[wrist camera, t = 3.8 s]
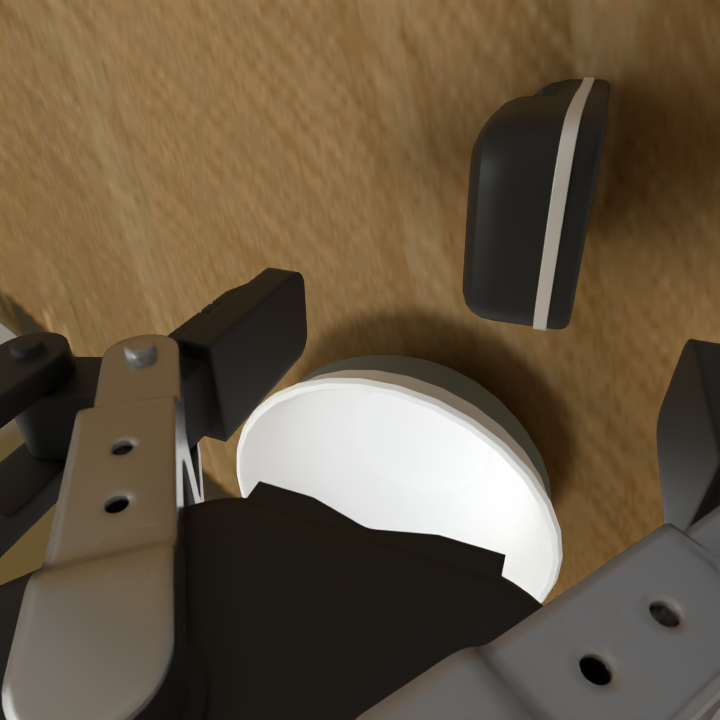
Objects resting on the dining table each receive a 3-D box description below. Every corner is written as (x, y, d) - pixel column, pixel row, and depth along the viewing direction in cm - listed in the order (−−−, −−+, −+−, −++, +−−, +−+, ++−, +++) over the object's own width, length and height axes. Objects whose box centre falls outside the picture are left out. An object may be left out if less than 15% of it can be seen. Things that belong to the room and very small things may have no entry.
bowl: (295, 275, 34) (219, 340, 28) (616, 349, 29) (614, 450, 23) (298, 485, 45) (244, 568, 38) (533, 567, 40) (516, 678, 33)
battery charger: (518, 72, 24) (458, 117, 15) (613, 72, 23) (607, 120, 14) (503, 228, 28) (447, 337, 19) (583, 235, 27) (564, 355, 18)
